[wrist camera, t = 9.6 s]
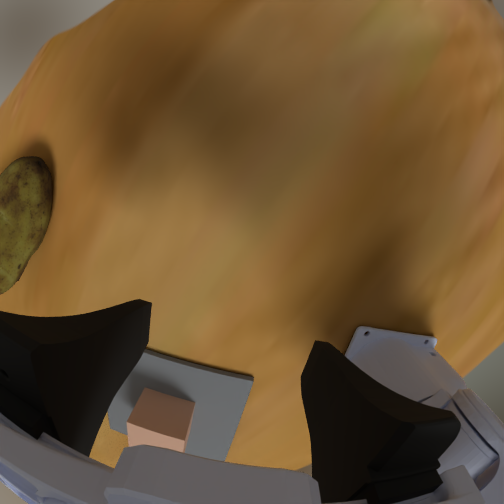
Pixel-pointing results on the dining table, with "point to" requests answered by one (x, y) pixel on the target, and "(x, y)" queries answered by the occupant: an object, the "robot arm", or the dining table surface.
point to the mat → (192, 389)
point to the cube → (160, 421)
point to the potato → (22, 215)
